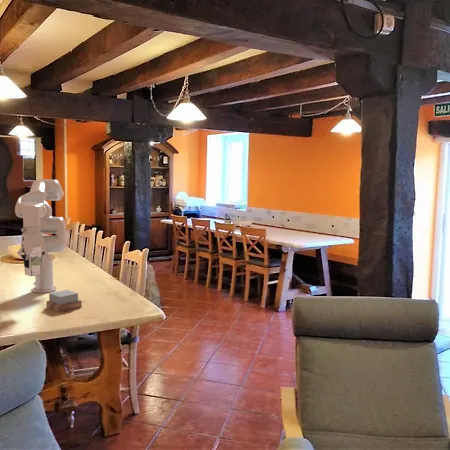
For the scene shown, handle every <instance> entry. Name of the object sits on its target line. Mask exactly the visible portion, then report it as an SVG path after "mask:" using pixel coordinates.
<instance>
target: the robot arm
mask: <svg viewBox="0 0 450 450" xmlns="http://www.w3.org/2000/svg"><path fill="white" fill-rule="evenodd" d="M63 196H64V190H63V188H62V185H61V183H60V182H59V180H57V179H36V180H34V181H33V182H32V184H31V187H30V189H29V192H27V193H25V194H23V195H20V197H18V199H17V201H16V204H15V207H14V212H15V215H16V217H18V218H21V219H22V221H23V222H22V223H23V224H22V225H23V227H22V228H21V230H20V231H21V232H22V234H21V240H20V242H21V243H20V248H19V250H18V251H17V252H16V254H17V255H18V256H19V257H20V258H21V259H22V260H23V267H24V268H25V267H26V268H29V260H28V257H29V254H31V253H32V249H33V248H35V247H39V246H41V275H36V276H34V278H35V280H34V282H33V285H34V287H33V288H32V292H34V293H37V294H38V293H39V294H40V293H41V294H44V293H53V292H56V290H57V287H56V286H54V262H53V261H54V260H53V257H52V256H51V255H50V254H49V253H62V252H65V250H66V242H67V241H66V239H67V238H66V233H67V232H66V228H67V227H66V220H65V219H64V218H63V216H53V209H52V206H51V205H50V204H49V203H48V202H47V201H50V202H51V201H54V202H55V201H61V200H63ZM44 234H55V235H44Z"/></svg>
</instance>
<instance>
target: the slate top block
mask: <svg viewBox="0 0 450 450" xmlns="http://www.w3.org/2000/svg"><path fill="white" fill-rule="evenodd" d="M48 297H49V298H48V299H49V300H48V301H51V302H53V303H56V304H58V305H63V304H67V303H72V302H76V301H78V300H79V293H78V292H75V291H72V290H69V289H66V290H65V289H64V290H60V291H52V292H48Z"/></svg>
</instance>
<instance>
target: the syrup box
mask: <svg viewBox="0 0 450 450" xmlns="http://www.w3.org/2000/svg"><path fill="white" fill-rule="evenodd" d="M28 260H29V268H26V267H24V275H25V276H29V277H35V276H36V275H41V246H39V247H35V248H33V249H32V253H31V254H29V257H28Z"/></svg>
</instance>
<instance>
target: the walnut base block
mask: <svg viewBox="0 0 450 450" xmlns="http://www.w3.org/2000/svg"><path fill="white" fill-rule="evenodd" d="M82 305H83V304H82V300H81V299H78V301H76V302H72V303H67V304H63V305H58V304H56V303H53V302H51V301H49V300H46V309H49V310H51V311H54V312H57V313H59V314H61V313H65V312H69V310H70V311H73V310H76V309H80V308H82Z"/></svg>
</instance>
